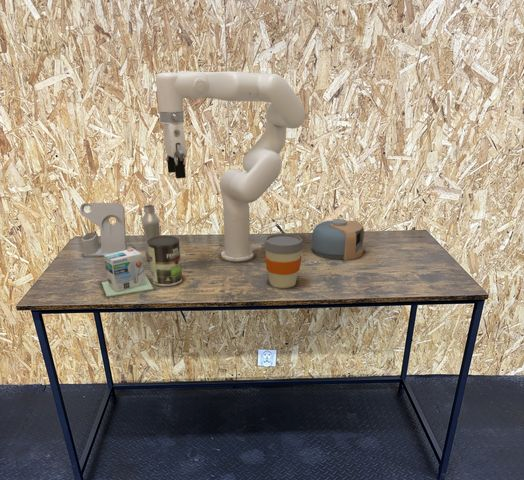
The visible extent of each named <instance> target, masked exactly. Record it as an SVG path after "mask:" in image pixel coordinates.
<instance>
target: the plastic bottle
mask: <svg viewBox="0 0 524 480" xmlns="http://www.w3.org/2000/svg"><path fill="white" fill-rule="evenodd" d="M143 212H144V214H143V216H142V219H141V224H142V229H143V233H144V239H145V258H146V259H147V260H148V261H149V262H150V256H149V248H148V243H147V241H148V240H149V239H150V238H153V237H157V236H161V235H160V234H161V233H160V232H161V231H160V227H161V225H160V223H161V222H160V221H161V220H160V218H159V217H158V215H157V214H156V213H155V212H156V209H155V205H153V204H147V205H144V206H143Z"/></svg>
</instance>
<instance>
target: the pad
mask: <svg viewBox="0 0 524 480" xmlns="http://www.w3.org/2000/svg"><path fill="white" fill-rule="evenodd" d="M101 285H102V289H103V291H104V293H105V296H106V298H110V297H118V296H124V295H129V294H136V293H142V292H149V291H154V290H155V288H154V287H153V285H152V284H151V281H150V280H149V278H148V277H147V275H145V285H141V286H137V287H133V288H129V289H125V290H122V291H118V292H117V291H115V290H114V289H113V288H111V287H110V286H109V284H108V280H106V281H101Z"/></svg>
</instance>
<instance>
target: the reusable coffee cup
mask: <svg viewBox="0 0 524 480" xmlns="http://www.w3.org/2000/svg"><path fill="white" fill-rule="evenodd" d="M303 245H304V244H303V238H302V237H301V236H299V235H297V234H291V233H276V234H270V235H268V236H266V237H265V238H264V246H263V247H264V250H265V255H264V258H265V267H266V271H267V274H268V282H269V285H270V286H272V287H274V288H278V289H279V288H280V289H288V288H292V287H294V286H296V284H297V278H298V274H299V273H298V272H299V271H300V268H301V262H302V251H303V247H304V246H303Z"/></svg>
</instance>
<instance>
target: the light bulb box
mask: <svg viewBox="0 0 524 480" xmlns="http://www.w3.org/2000/svg"><path fill="white" fill-rule="evenodd" d="M103 259H104V265H105V266H104V267H105V271H106V277H107V281H108V284H109V286H110V287H111V288H113V289H114V290H115V291H117V292H118V291H122V290H125V289H129V288H133V287H137V286H141V285H145V276H146V275H145V269H144V267H145V266H144V260H143V259H144V258H143V254H142V253H141V252H140V251H138V250H137V249H135V248H133V247H132V249H128V250H124V251H120V252H115V253H111V254H106V255H104V256H103Z"/></svg>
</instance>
